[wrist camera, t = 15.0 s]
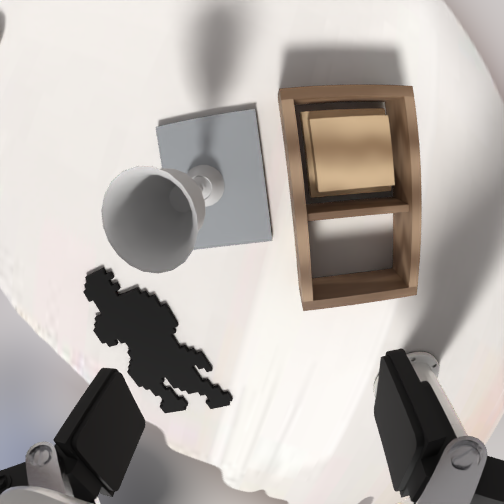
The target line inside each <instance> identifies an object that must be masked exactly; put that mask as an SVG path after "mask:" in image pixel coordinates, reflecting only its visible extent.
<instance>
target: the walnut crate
mask: <svg viewBox="0 0 504 504" xmlns="http://www.w3.org/2000/svg"><path fill="white" fill-rule="evenodd" d="M338 102H385V106H386V114H387V115H388V118H389V126H390V135H391V144H392V154H393V166H394V181H395V185H392V188H393V197H380V198H368V199H356V200H344V201H334V202H323V203H313V204H306V200H305V190H304V180H303V171H302V162H301V154H300V145H299V137H298V130H297V122H296V115H295V107H294V105H304V104H318V103H338ZM278 103H279V110H280V117H281V124H282V132H283V139H284V147H285V155H286V163H287V171H288V180H289V189H290V198H291V207H292V216H293V226H294V236H295V247H296V258H297V269H298V281H299V290H300V296H301V301H302V306H303V311H307V310H316V309H324V308H332V307H340V306H347V305H355V304H362V303H369V302H375V301H382V300H388V299H395V298H401V297H407V296H413V295H417V286H418V275H419V262H420V245H421V166H420V149H419V137H418V126H417V117H416V108H415V101H414V93H413V87H412V86H400V85H323V86H306V87H293V88H282V89H279V93H278ZM387 213H393V266H392V268H390V269H383V270H375V271H368V272H360V273H352V274H344V275H336V276H327V277H319V278H312V274H311V259H310V246H309V233H308V222H307V221H315V220H324V219H334V218H344V217H355V216H365V215H376V214H387Z"/></svg>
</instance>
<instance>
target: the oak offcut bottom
mask: <svg viewBox="0 0 504 504" xmlns="http://www.w3.org/2000/svg"><path fill="white" fill-rule="evenodd" d="M374 115H385V108H368V109H336V110H319V111H305V112H301V113H300V120H301V127H302V135H303V143H304V151H305V159H306V168H307V177H308V187H309V195H310V197H311V198H315V197H325V196H336V195H347V194H359V193H371V192H384V191H391V185H390V186H378V187H367V188H356V189H346V190H336V191H326V192H318V191H317V190H316V184H315V175H314V167H313V158H312V151H311V143H310V136H309V129H308V122H307V121H308V120H309V119H320V118H333V117H349V116H374Z"/></svg>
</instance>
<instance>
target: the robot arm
mask: <svg viewBox="0 0 504 504" xmlns="http://www.w3.org/2000/svg"><path fill="white" fill-rule="evenodd" d="M438 374H439V364H438V362H437V360H436V359H435V357H434V356H433V355H431V354H429V353H426V352H413V353H409V354H406V353H405V351H404V350H403V349H398V350H392V351H387V352H386V355H385V356H383V357H381V361H380V370H379V375H378V377H377V379H376V381H375V384H374V394H375V397H376V399H375V406H374V416H375V420H376V424H377V427H378V431H379V434H380V438H381V441H382V445H383V448H384V452H385V456H386V460H387V463H388V467H389V471H390V475H391V479H392V483H393V487H394V490H395V491H400V494H401V497H405V496H410V497H409V498H407V499H405V500H403V501H401V502H399V503H397V504H504V461H503V460H500V459H496V458H493V457H489V456H487V450H486V447H485V445H484V444H483V442H482V441H480V440H479V439H477V438H475V437H472V436H468V435H467V433H466V431H465V429H464V427H463V426H462V423H461V421H460V419H459V418H458V416H457V414H456V412H455V410H454V408H453V406H452V404H451V403H450V401H449V399H448V397H447V395H446V394H445V392H444V390H443V388H442V386H441V385H440V383H439V381H438V379H437V377H438ZM144 428H145V419H144V417H143V415H142V413H141V412H140V410H139V408H138V406H137V404H136V402H135V400H134V398H133V396H132V394H131V392H130V390H129V388H128V386H127V384H126V382H125V379H124V377H123V375H122V374H121V373H119V371H118V370H117V369H112V368H102V369H101V370H100V371H99V372H98V374H97V375H96V377H95V378H94V380H93V381H92V383H91V384H90V385H89V387H88V388H87V390H86V391H85V393H84V394H83V396H82V397H81V399H80V400H79V402H78V403H77V405H76V406H75V408H74V409H73V411H72V412H71V414H70V415H69V417H68V418H67V420H66V421H65V423H64V424H63V426H62V427H61V429H60V430H59V432H58V434H57V435H56V437H55V438H54V442H55V443H56V444H55V446H53V445H52V444H51V443H48V442H39V443H37V444H35V445H33V446H32V447H31V448H30V449H29V450H28V452H27V454H26V462H24V463H21V464H18V465H16V466H13V467H10V468H7V469H4V470H1V471H0V504H100V502H99V499H98V494H99V492H100V493H101V494H103V495H107V496H110V497H113V495H114V492H115V491H117V490H118V489H119V487H120V485H121V483H122V480H123V478H124V475H125V473H126V470H127V468H128V466H129V463H130V461H131V458H132V456H133V454H134V451H135V449H136V446H137V444H138V442H139V439H140V437H141V435H142V432H143V430H144Z"/></svg>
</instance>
